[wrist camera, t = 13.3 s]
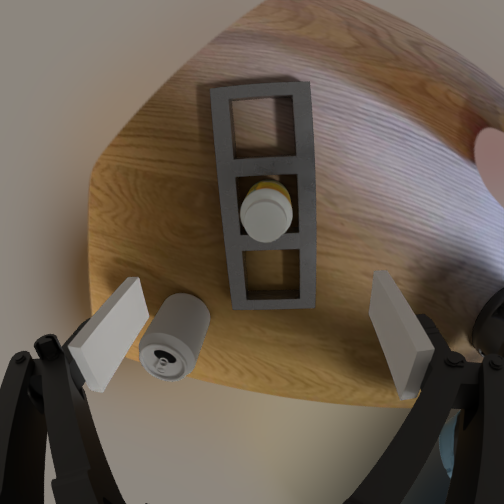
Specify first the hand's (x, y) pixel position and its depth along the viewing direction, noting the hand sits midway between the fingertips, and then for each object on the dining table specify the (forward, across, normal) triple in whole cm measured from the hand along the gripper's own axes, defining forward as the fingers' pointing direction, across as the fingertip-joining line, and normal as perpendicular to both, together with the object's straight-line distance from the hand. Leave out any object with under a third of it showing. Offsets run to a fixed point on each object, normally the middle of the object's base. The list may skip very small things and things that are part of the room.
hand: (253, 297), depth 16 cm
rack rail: (+23, 0, 0) cm, 23 cm away
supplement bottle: (+23, 0, 0) cm, 23 cm away
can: (+23, +13, +16) cm, 31 cm away
